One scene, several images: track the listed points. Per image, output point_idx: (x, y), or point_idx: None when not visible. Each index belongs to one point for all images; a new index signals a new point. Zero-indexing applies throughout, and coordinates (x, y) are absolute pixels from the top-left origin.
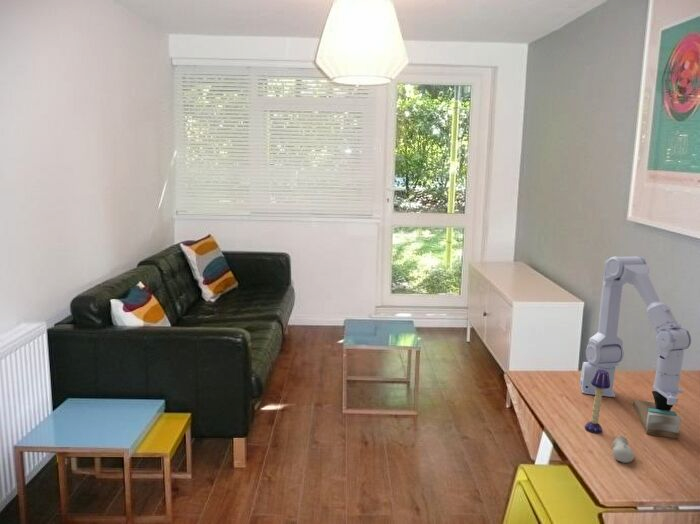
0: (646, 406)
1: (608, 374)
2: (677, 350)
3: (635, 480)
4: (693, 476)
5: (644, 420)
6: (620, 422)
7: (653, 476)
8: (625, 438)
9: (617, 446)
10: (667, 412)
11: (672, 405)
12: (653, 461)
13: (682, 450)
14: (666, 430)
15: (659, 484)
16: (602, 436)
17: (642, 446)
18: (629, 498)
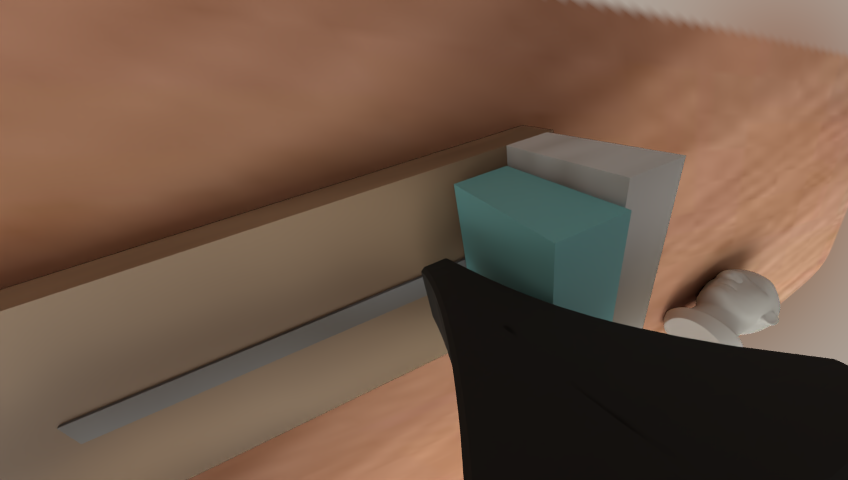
0: (113, 444)
1: None
2: None
3: (793, 234)
4: (828, 56)
5: (446, 348)
6: (452, 398)
7: (791, 196)
8: (738, 337)
9: (757, 331)
10: (597, 303)
11: (660, 340)
12: (726, 211)
13: (653, 96)
14: None
15: (823, 175)
16: None
17: None
18: (837, 228)
